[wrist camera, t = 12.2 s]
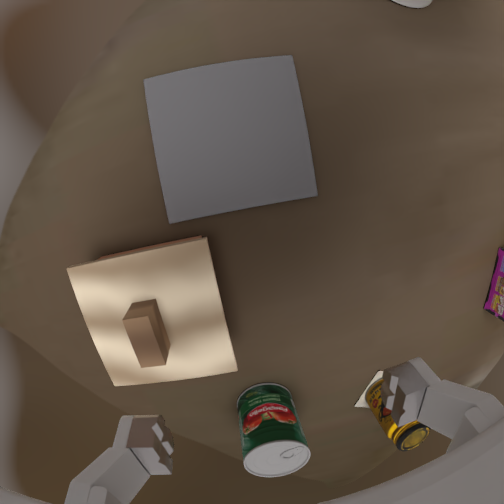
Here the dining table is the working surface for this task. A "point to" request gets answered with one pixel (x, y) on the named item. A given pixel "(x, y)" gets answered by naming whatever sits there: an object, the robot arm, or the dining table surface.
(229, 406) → the dining table surface
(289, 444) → the canned tomato
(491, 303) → the candy bar box
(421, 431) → the condiment
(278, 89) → the mat
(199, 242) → the lid
